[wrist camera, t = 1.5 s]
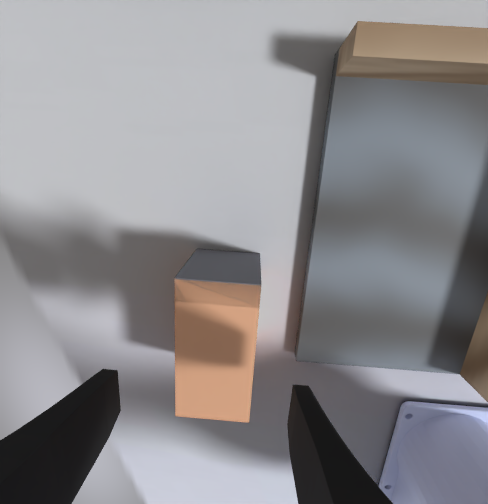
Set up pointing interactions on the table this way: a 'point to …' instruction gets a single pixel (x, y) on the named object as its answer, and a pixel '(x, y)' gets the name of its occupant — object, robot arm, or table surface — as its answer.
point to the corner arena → (402, 206)
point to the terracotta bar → (216, 334)
